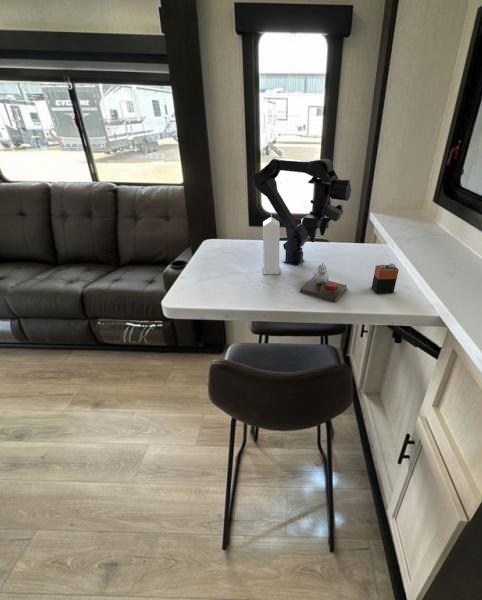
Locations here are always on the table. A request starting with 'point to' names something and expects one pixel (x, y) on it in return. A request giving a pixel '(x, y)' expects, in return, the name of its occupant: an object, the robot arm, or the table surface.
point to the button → (331, 285)
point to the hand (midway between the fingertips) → (317, 238)
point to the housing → (323, 290)
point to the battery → (385, 278)
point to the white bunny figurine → (321, 275)
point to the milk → (271, 245)
